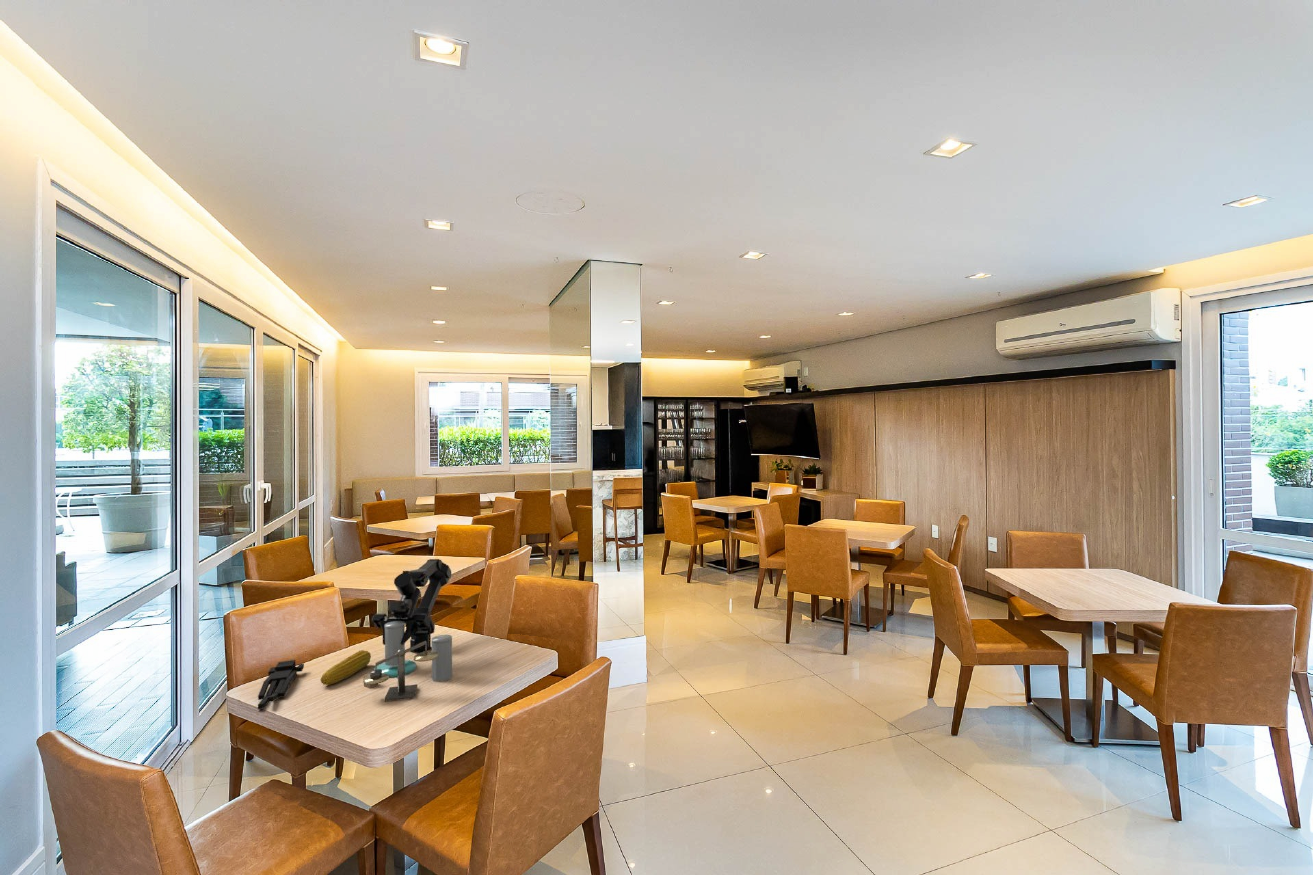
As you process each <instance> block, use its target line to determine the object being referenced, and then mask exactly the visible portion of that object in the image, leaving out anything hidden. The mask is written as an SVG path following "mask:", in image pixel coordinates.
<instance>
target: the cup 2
mask: <svg viewBox="0 0 1313 875" xmlns="http://www.w3.org/2000/svg"><path fill="white" fill-rule="evenodd" d="M431 647H432V649H431V652H437V653H438V657H437V658H436V659H433V660H431V680H432V681H433V682H437V683H438V682H446V681H448V680H449V681H450V680H451V679H452V678H453V636H452V635H450V634H441V635H440V634H439V635H435V636H434V637H432V638H431Z"/></svg>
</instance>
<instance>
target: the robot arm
mask: <svg viewBox="0 0 1313 875" xmlns="http://www.w3.org/2000/svg"><path fill="white" fill-rule="evenodd" d="M451 578H452V570H451V568H450V566H449V565H448V564H446V563H444V562H443V561H442V559H439V558H429V559H427V560H426V562H424V563H423V564H422V565H421V566H420V567H419V568H417V569H411V570H403V571H402V573H400V574H398V575H397V576H396V577H395V578H394V580H393V583H394V585H395V588H396V589H397V591H398V593H399V594H400V596H401V597H400V600H389V601H388V605H387V606H388V607H387V611H388V612H391V613H390V614H391V615H392V616H393V617H389V616H388V615H387V613H374V615H373V616H372V618H371V623H373V625H374V626H375V627H376V628H377V629H382V645H383V646H385V624H386V623H389V622H393V621H404V622H405V633H404V636H403V638H402V641H401V644H402V645H403V644H404V643H405V644H406V642H407V641H408V640H409V648H410V647H412V646H415V645H417V644H419V643H422V642H424V641H426V642H427V652H429V651H430V650H432V638H431V637H432V636H431V635H432V634H434V633H435V630H436V628H435V623H434V621H433V619H432V616H431V612H432V610H433V607H434V605H435V603H436V601H437V598H438V595H439V593H440V591H441V589H442V588H443V587H444V586H446V585H447V584H448V582H449V581H450V579H451ZM426 585H427V587H426ZM425 587H426V590H425V591H424V593H423V594H424V595H423V596H422V591H421V590H420V589H419V588H425ZM421 598H422V599H421ZM419 599H421V600H420V602H419V605H418V607H417V604H418V601H419ZM410 652H411V653H416V654H419V653H423V652H425V645H423V646H421V647H418V648H416V649H414V650H412V651H410Z"/></svg>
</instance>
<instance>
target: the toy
mask: <svg viewBox="0 0 1313 875" xmlns="http://www.w3.org/2000/svg"><path fill="white" fill-rule="evenodd" d="M296 665H297V664H296V659H291V660H285V661H284V660H283V661H278V662H277V664H276V666H273V667H270V668H269V670H268V673H267V674H268V676H267V677H266V679H265V680H263V683H262V684H261V687H260V690H259V692H258V695H257V700H258V701H260V702H259V703H258V704H257V710H262V709H264V708H265V707H266V706H267V705H268V703H271V702H272V703H273V702H274V701H276V700H277V699H279V698H284V697H285V695H286V693H287V692H288V689H289V687H290V686H291V683H292V681H293V680H294V679H295V677H296V676H297V673H299V672H303V670H304V667H305V663H299V664H298V666H296Z"/></svg>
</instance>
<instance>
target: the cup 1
mask: <svg viewBox="0 0 1313 875" xmlns="http://www.w3.org/2000/svg"><path fill="white" fill-rule="evenodd" d="M405 630H406V624H405V622H404V621H393V622H389V623H386V624H385V645H384V659H385V658H387V657H389V656H392V655H394V654H396V653H397V652H398V650H400V649H404V650H406V649H405V648H406V642H405V643H404V644H403V645H402V644H401V641H402V638H403V636H404V633H405ZM384 663H385V665H388V666H394V665H398V657H396V658H393V659H391V660H389V661H386V662H384Z"/></svg>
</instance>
